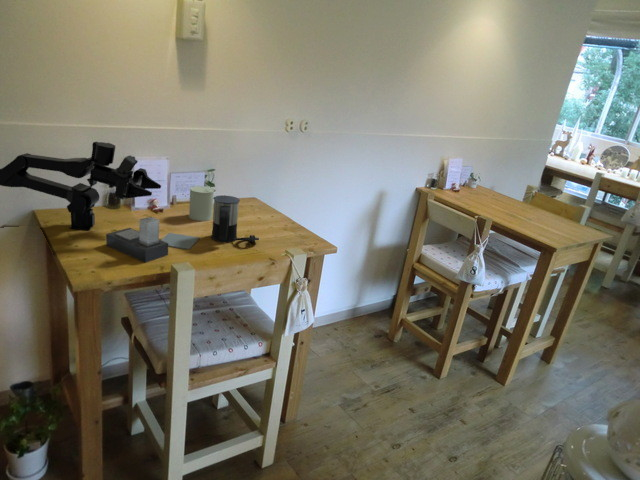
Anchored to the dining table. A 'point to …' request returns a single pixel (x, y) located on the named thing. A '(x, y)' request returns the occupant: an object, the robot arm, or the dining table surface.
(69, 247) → the dining table surface
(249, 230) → the dining table surface
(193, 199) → the can
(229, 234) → the milk frother
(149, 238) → the grey rectangular block
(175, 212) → the dining table surface
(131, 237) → the dark grey socket base
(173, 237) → the mat
